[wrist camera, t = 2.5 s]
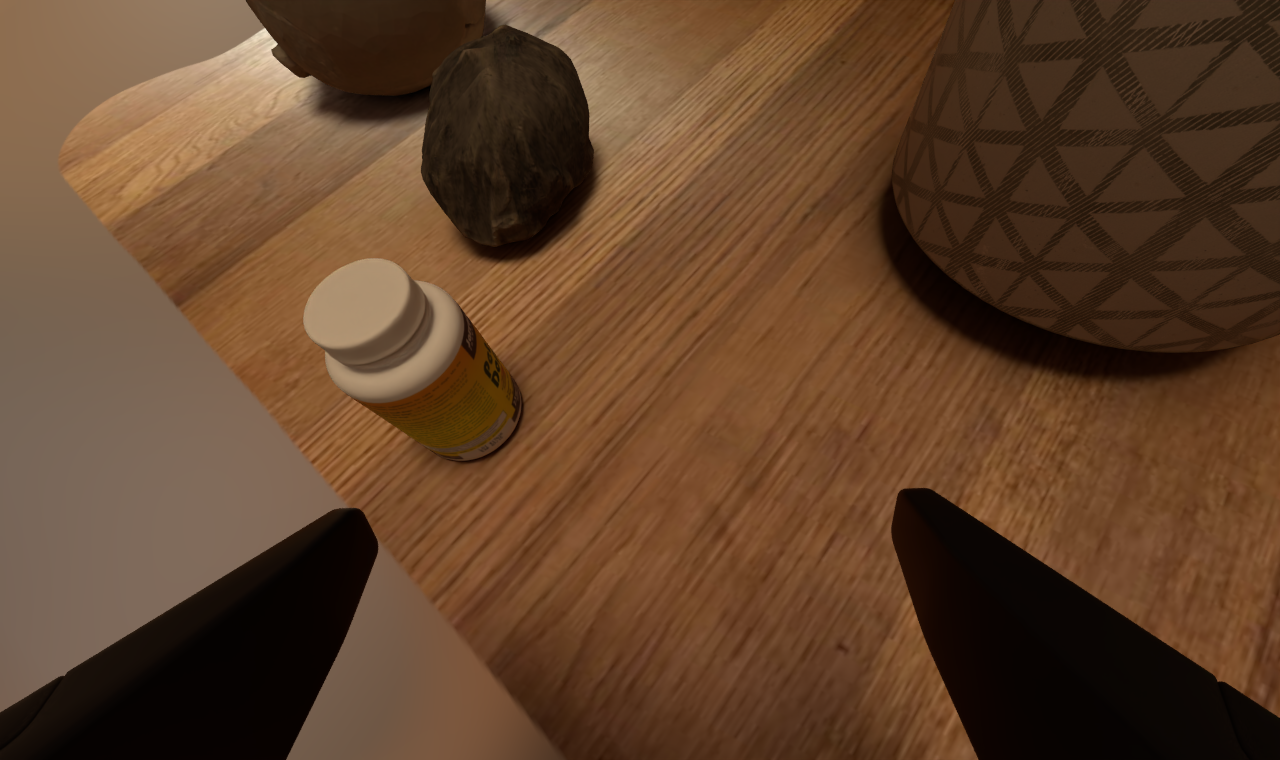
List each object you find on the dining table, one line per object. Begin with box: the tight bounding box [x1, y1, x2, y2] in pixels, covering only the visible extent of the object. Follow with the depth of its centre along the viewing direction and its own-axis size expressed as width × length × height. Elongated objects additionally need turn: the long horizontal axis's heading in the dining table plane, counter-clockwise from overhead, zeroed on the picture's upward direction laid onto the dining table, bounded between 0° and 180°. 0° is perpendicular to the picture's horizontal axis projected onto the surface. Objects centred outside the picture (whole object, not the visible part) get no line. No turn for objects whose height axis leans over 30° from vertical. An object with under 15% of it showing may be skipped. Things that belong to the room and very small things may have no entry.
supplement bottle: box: [303, 258, 521, 461], centre depth 22 cm, size 6×6×10 cm
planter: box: [892, 0, 1280, 353], centre depth 19 cm, size 19×19×18 cm
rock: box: [421, 25, 594, 247], centre depth 30 cm, size 10×11×10 cm
